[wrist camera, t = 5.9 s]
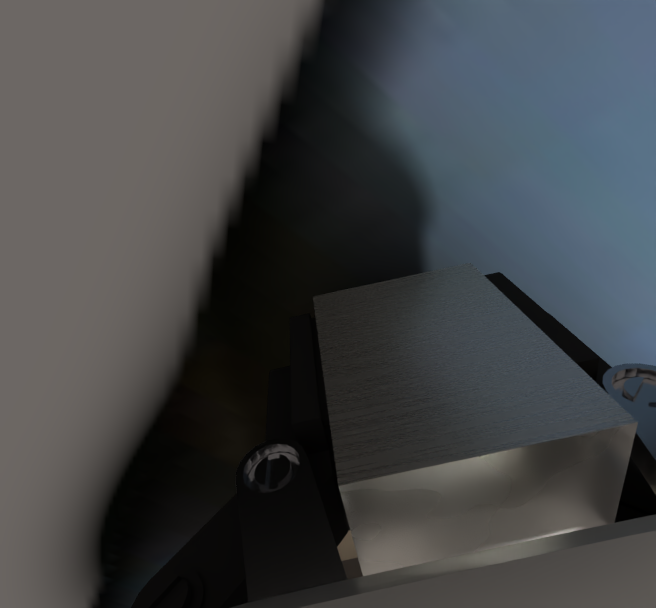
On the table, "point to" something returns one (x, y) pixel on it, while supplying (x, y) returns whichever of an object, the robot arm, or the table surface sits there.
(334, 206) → the table surface
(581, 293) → the table surface
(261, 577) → the robot arm
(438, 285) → the block ended bar
